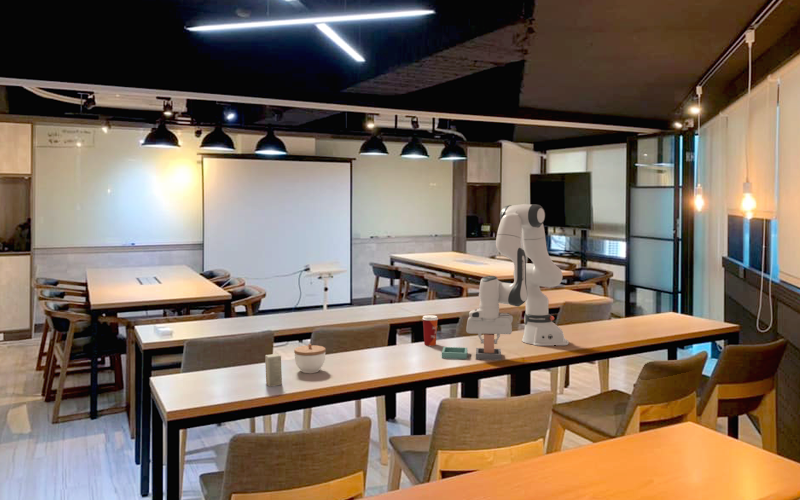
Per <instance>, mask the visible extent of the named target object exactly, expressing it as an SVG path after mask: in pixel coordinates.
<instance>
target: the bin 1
mask: <svg viewBox="0 0 800 500" xmlns="http://www.w3.org/2000/svg"><path fill="white" fill-rule="evenodd" d="M441 359H454V360H457V359H459V360H467V359H468V347H460V346H459V347H455V346H453V347H452V346H443V347H442V351H441Z"/></svg>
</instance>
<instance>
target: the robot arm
mask: <svg viewBox="0 0 800 500" xmlns="http://www.w3.org/2000/svg"><path fill="white" fill-rule="evenodd" d="M545 211H546V210H545V209H544V208H543V206H541V205H540V204H529V203H522V204H514V205H511V204H509V205H505V206H503V208H502V209H501V210H500V213H499V220H500V222H499V225H498V228H497V233H496V238H495V247H496V250H497V251H498V253H499V254H500V255H502V256H504V257H506V258H507V259H510V260H511V261H512V263H513V264H514V265H513V266H514V268H513V269H514V270H513V280H514V281H513V283H511V282H504V281H500V280H499V279H498V277H497V276H496V275H495V276H494V275H487V276H483V277H482V278H481V279H480V283H479V288H478V289H479V291H478V296H479V297H478V298H479V304H478V307H479V308H476V309H471V310H470V311H469V313H468V315H469V316H468V318H467V322H466V329H465V331H466V333H467V334H477V337H478V338H479V339H480V344H484V338H483V337H482V334H483V335H484V334H494V335H496V338H494V345H498V340H499V339H500V337H501V335H511V334H512V333H513V327H512V323H513V321H514V317H513V315H512V314H511V313H509V312H506V313H505V312H500V305H499V304H502V305H510V306H514V307H520V306H522V305H524V304H525V313H524V317H523V318H524V321H523V322H524V330H523V336H522V339H521V341H522V342H523V343H525V344H531V345H534V346H539V347H540V346H544V347H545V346H546V347H547V346H549V347H550V346H551V347H553V346H554V345H556V346H568V345H569V343H570V342H569V340H568V339H566V338H565V334H564V331H563V329H562V328H560V327H559V326H558V325H557V324H556V323H554V322H553V321H554V320H555V317H554V316H553V315H552V314H550V313H549V298H548V296H547V295H545V294H544V293H543V292H542V290H541V287H544V288H553V287H557V286H559V285H560V284H561V283H562V281H563V271H562V270H561V268H560V267H559V266H557V265H556V264H555V263H554V261H552V258H551V257H550V255H549V252H548V248H547V241H546V240H547V239H546V233H545V231H546V230H545V226H544V221H545V219H546V212H545ZM521 241H522V243H521ZM521 244H522V245H521ZM526 257H527V258H529V259H530V260H531V263H527V258H526Z"/></svg>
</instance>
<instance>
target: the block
mask: <svg viewBox="0 0 800 500" xmlns="http://www.w3.org/2000/svg"><path fill="white" fill-rule="evenodd" d="M483 339H484V343H483V348H484V353H494V349H495V344H494V339H495V334H483Z"/></svg>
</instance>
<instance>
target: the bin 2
mask: <svg viewBox="0 0 800 500" xmlns="http://www.w3.org/2000/svg"><path fill="white" fill-rule="evenodd" d="M501 349H502V348H494V353H484V347H476V348H475V360H480V359H481V360H483V361H484V360H485V361H502V350H501Z"/></svg>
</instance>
